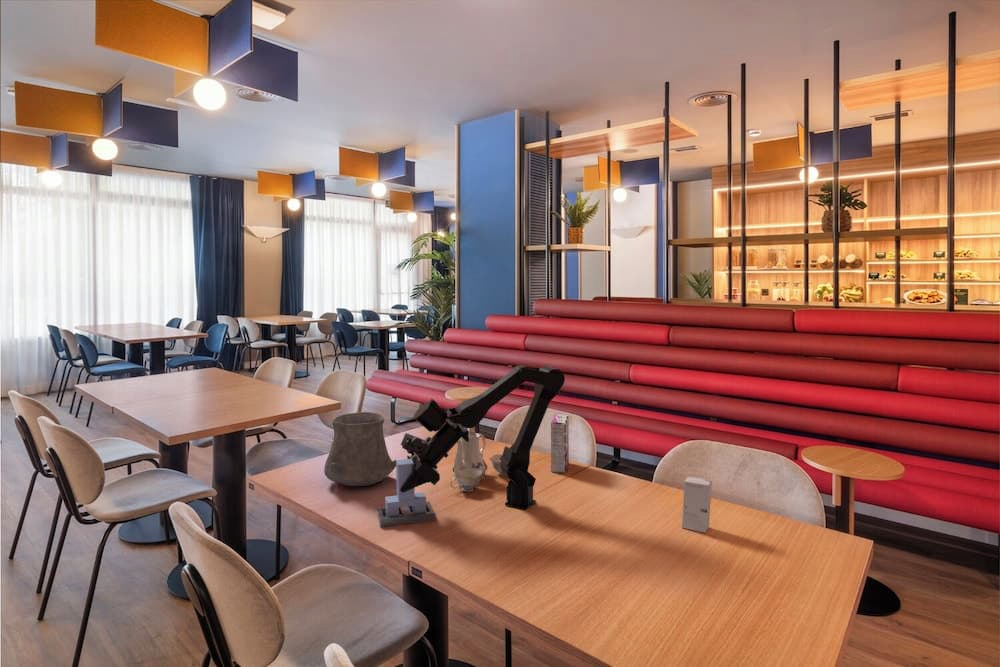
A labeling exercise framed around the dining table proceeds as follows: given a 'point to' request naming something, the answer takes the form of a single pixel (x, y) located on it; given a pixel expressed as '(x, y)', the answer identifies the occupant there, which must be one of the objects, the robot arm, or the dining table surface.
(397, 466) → the blue-gray inverted t block
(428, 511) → the rail
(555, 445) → the candy bar box
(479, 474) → the chinaware
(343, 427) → the vessel
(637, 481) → the dining table surface
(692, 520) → the skincare box
